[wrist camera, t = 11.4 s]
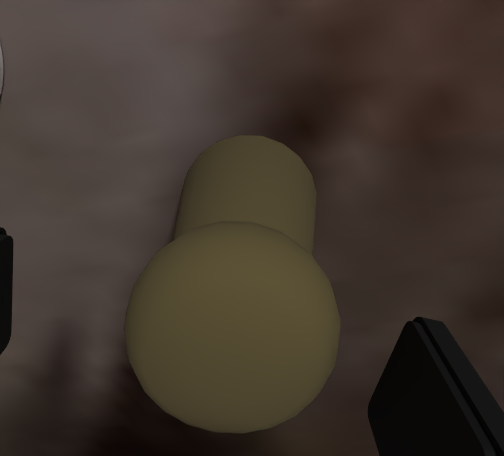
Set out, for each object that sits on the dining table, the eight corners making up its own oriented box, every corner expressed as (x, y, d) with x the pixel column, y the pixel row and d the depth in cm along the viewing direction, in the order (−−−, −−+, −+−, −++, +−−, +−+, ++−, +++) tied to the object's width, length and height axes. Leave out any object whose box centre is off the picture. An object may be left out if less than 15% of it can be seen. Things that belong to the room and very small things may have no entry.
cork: (220, 281, 21) (174, 503, 11) (156, 171, 19) (24, 314, 9) (337, 233, 20) (412, 430, 9) (283, 109, 18) (302, 192, 7)
